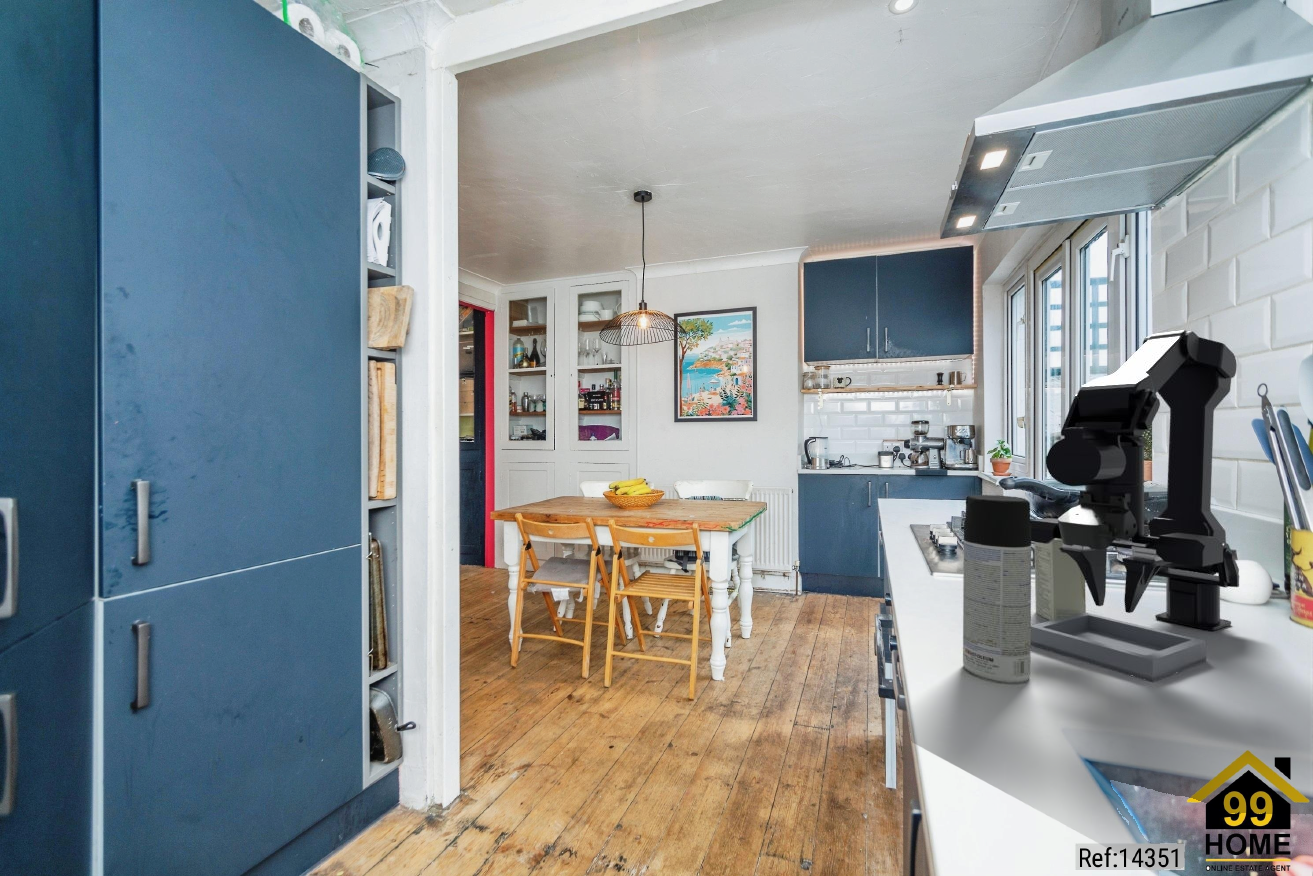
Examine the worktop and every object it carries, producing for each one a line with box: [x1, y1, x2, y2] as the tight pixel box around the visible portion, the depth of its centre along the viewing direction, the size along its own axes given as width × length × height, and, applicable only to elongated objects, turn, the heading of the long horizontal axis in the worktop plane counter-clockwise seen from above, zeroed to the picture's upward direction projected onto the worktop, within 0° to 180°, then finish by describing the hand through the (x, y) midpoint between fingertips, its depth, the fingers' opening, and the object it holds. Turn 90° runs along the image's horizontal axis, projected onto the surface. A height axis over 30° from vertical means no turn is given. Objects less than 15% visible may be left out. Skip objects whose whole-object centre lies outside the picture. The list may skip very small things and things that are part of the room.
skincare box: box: [1034, 538, 1087, 621], centre depth 85 cm, size 6×4×12 cm
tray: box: [1031, 611, 1207, 683], centre depth 71 cm, size 13×13×2 cm
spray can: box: [962, 494, 1032, 685], centre depth 65 cm, size 7×7×20 cm
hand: (1114, 608), depth 72 cm, fingers open, 3 cm apart
